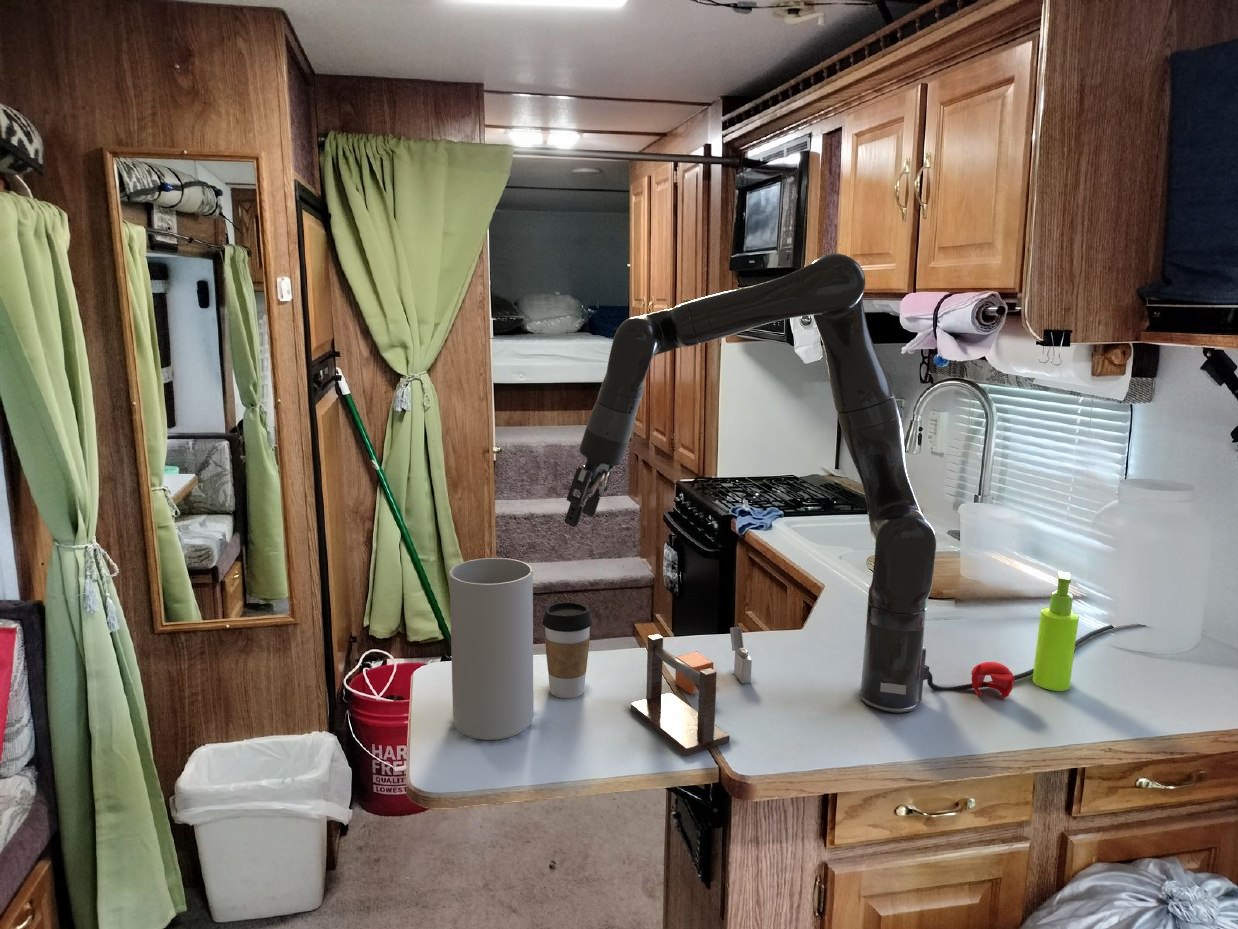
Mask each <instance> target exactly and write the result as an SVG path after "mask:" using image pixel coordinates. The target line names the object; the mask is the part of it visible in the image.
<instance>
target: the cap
mask: <svg viewBox="0 0 1238 929" xmlns="http://www.w3.org/2000/svg"><path fill="white" fill-rule="evenodd" d="M972 668H973V669H972V670H971V684H972V687H973V690H974V692H975V694H976V696H978V697H981V696H982V692H981V690H980V689H981V688H980V686H981V684H982V683H986V684H987V687H986V688H990V689H994V690H996V691H998V692H1000V698H1001V699H1002V700H1003V699H1006V698H1008V697H1010V694H1011V692H1012V690H1013V689H1014V685H1015V681H1014V674H1013V673H1012V671H1011V670H1010V669H1009V668H1008V667H1007V666H1006V665H1005V664H1002V663H1000V662H996V661H985V662H981V663H978V664H976V665H975V666H974V667H972ZM986 676H990V679H991V681H993V683H991V682H989V681H985V679H986Z"/></svg>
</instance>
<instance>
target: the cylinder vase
mask: <svg viewBox="0 0 1238 929" xmlns="http://www.w3.org/2000/svg"><path fill="white" fill-rule="evenodd" d="M449 607H450V608H449V609H450V612H449V613H450V647H451V648H450V650H451V652H450V653H451V688H452V689H451V690H452V692H451V694H452V721H453V725H454V727H455V728H456V730H457V731H458V732H460V733H461V734H463V736H466V737H469V738H472V739H476V740H486V741H490V740H491V741H493V740H495V741H496V740H503V739H507V738H511V737H514V736H516V735H519V734H520V733H522V732H524V731H525V730H526V729H528V727H529V726H530V725H531V723H532V722H533V720H534V569H533V566H531V565H530V564H529V563H527V562H524V561H522V560H518V559H514V558H508V557H507V558H506V557H485V558H484V557H483V558H476V559H470V560H466V561H462V562H460V563H457V564H455V565H453V566H452V567H451V568H450V570H449Z"/></svg>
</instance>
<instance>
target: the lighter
mask: <svg viewBox="0 0 1238 929" xmlns="http://www.w3.org/2000/svg"><path fill="white" fill-rule="evenodd" d="M729 632H730V644H731V651H733V652H734V665H733V666H734V667H733V668H734V669H733V674H734V675H735V677H736V678H737V679H738V680H739V682H740V683H741V684H749V683H751V682H752V668H753V667H752V666H753V665H752V664H753V659H752V658H751V656H750V655H749V651H748V650H747V648H746V647H744V639H743V638H744V637H743V630H742V626H734V627H730V628H729Z"/></svg>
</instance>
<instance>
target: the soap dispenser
mask: <svg viewBox="0 0 1238 929" xmlns="http://www.w3.org/2000/svg"><path fill="white" fill-rule="evenodd" d="M1056 575H1057V587H1056V590H1054V591H1052V592H1051V593H1050V601H1049V607H1045V608H1042V609H1041V610H1040V615H1039V623H1038V632H1037V638H1036V639H1037V640H1036V648H1035V655H1034V656H1035V657H1034V664H1033V669H1034V672H1033V674H1032V682H1033V683H1034V684H1035V685H1037V686H1038V687H1040V688H1042V689H1046V690H1050V691H1054V692H1055V691H1056V692H1063V691H1068V690H1069V689H1070V687H1071V680H1072V679H1071V678H1072V671H1073V662H1074V656H1075V648H1076V647H1075V642H1076V641H1077V633H1078V627H1079V618H1080V617H1079V615H1078V614H1077V613H1075V612H1073V611H1072V610H1073V602H1074V601H1073V600H1074V596H1073V594H1071V593H1070V592H1069V587H1070V584H1071V583H1072V577H1071V573H1070V572H1067V571H1060V570H1059V571H1058V570H1057V572H1056Z"/></svg>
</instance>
